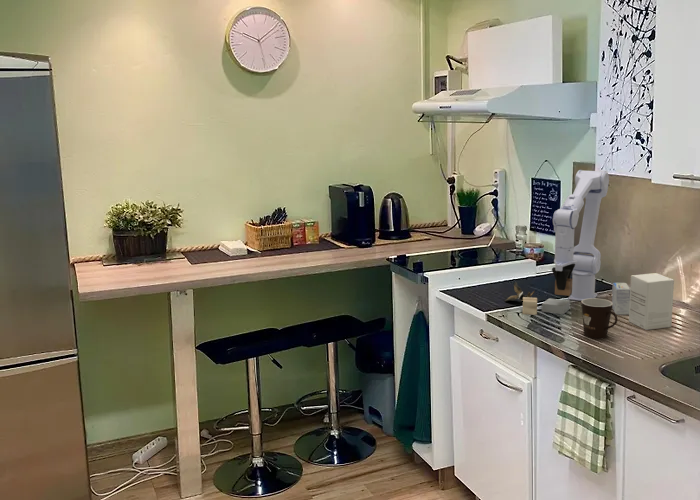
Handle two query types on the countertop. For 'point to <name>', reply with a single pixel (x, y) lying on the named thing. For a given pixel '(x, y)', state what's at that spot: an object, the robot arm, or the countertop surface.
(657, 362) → the countertop surface
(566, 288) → the walnut cube
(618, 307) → the medicine box
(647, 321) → the supplement box
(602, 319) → the coffee mug
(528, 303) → the birch cube
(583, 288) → the robot arm
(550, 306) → the slate block
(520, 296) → the eagle figurine
